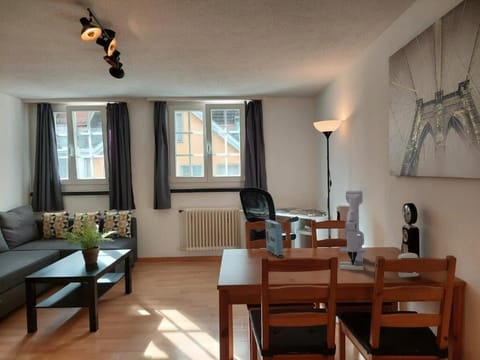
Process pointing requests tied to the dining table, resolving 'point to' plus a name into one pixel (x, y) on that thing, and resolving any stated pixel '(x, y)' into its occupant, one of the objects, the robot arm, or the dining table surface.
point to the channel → (350, 266)
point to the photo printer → (408, 255)
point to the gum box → (274, 237)
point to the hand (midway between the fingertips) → (353, 264)
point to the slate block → (358, 263)
